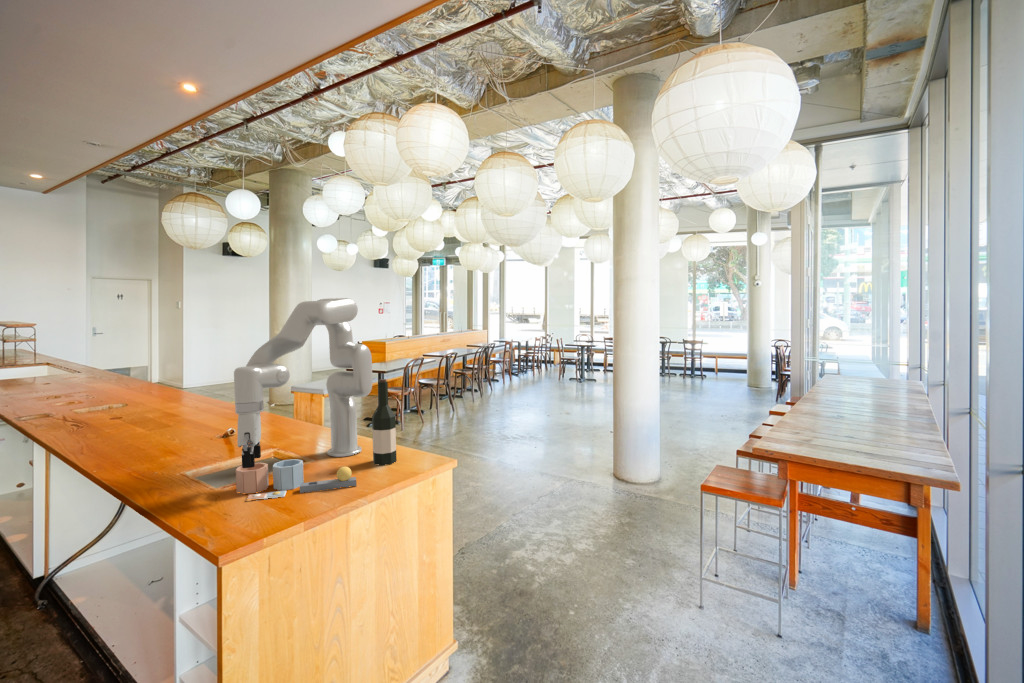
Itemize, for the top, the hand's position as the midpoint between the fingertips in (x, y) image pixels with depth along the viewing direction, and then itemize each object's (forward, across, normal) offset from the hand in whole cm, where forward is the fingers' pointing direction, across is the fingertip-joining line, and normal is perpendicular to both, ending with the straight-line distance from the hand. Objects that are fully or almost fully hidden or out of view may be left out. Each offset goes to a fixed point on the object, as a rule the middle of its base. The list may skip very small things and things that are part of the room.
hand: (251, 462), depth 142 cm
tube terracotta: (+8, 0, 0) cm, 8 cm away
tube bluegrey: (+8, 0, +10) cm, 13 cm away
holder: (+8, +7, +22) cm, 25 cm away
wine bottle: (+8, -14, +40) cm, 43 cm away
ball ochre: (+7, +7, +26) cm, 28 cm away
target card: (+8, +8, +5) cm, 13 cm away
